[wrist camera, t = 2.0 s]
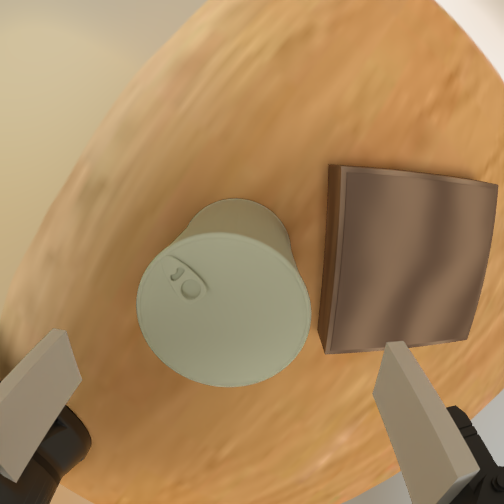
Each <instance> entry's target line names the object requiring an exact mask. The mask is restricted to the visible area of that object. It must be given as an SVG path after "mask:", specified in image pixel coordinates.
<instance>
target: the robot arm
mask: <svg viewBox="0 0 504 504" xmlns="http://www.w3.org/2000/svg"><path fill="white" fill-rule="evenodd" d="M81 381H82V378H81V375H80V372H79V369H78V366H77V363H76V360H75V357H74V354H73V351H72V348H71V345H70V342H69V338H68V335H67V332H66V330H60V329H54V328H53V329H52V330H51V331H50V332H49V333H48V334H47V335H46V336H45V337H44V338H43V339H42V340H41V341H40V342H39V343H38V344H37V345H36V346H35V347H34V348H33V349H32V350H31V351H30V352H29V353H28V354H27V355H26V356H25V357H24V358H23V359H22V360H21V361H20V362H19V363H18V364H17V365H16V367H15V368H14V369H13V370H12V371H11V372H10V373H9V374H8V375H7V376H6V377H5V378H4V379H3V380H2V381H0V504H50V502H51V499H52V497H53V495H54V493H55V491H56V488H57V487H58V485H59V483H60V480H61V479H62V477H63V476H64V475H65V474H67V473H68V472H69V471H70V470H71V469H72V468H73V467H74V466H75V465H77V464H78V463H79V462H80V461H82V460H83V459H84V458H85V457H86V455H87V453H88V451H89V449H90V447H91V439H90V436H89V434H88V432H87V430H86V428H85V427H84V425H83V424H82V423H81V421H80V420H79V419H78V418H77V417H76V416H75V415H74V414H73V413H72V412H71V411H70V410H69V409H68V408H67V407H66V406H65V405H66V403H67V402H68V400H69V399H70V397H71V396H72V394H73V393H74V391H75V390H76V388H77V387H78V385H79V384H80V383H81ZM373 397H374V399H375V402H376V404H377V407H378V409H379V412H380V414H381V417H382V420H383V422H384V425H385V428H386V430H387V433H388V436H389V438H390V441H391V444H392V446H393V449H394V452H395V455H396V457H397V460H398V463H399V466H400V469H401V471H402V474H403V477H404V480H405V483H406V486H407V489H408V492H409V495H410V498H411V501H412V504H504V467H501V466H497V464H496V463H495V462H494V460H493V458H492V456H491V454H490V453H489V451H488V449H487V448H486V446H485V444H484V442H483V441H482V439H481V437H480V436H479V435H477V431H476V429H475V428H474V426H472V423H471V421H470V419H469V418H468V416H467V415H466V413H464V412H463V411H462V410H461V409H459V408H458V407H457V406H456V405H455V406H451V407H447V408H446V407H445V405H444V404H443V402H442V400H441V399H440V397H439V396H438V394H437V392H436V391H435V389H434V387H433V386H432V384H431V383H430V381H429V379H428V378H427V376H426V375H425V373H424V371H423V370H422V368H421V367H420V365H419V364H418V362H417V361H416V359H415V358H414V356H413V354H412V353H411V351H410V350H409V348H408V347H407V345H406V344H405V342H404V341H396V342H386V346H385V350H384V354H383V358H382V362H381V366H380V370H379V373H378V377H377V380H376V384H375V387H374V390H373Z"/></svg>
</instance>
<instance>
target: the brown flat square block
mask: <svg viewBox="0 0 504 504" xmlns="http://www.w3.org/2000/svg"><path fill="white" fill-rule="evenodd" d="M497 195H498V185H496V184H492V183H487V182H482V181H477V180H471V179H465V178H459V177H452V176H445V175H438V174H430V173H422V172H413V171H404V170H394V169H384V168H373V167H360V166H346V165H329V175H328V202H327V222H326V239H325V254H324V267H323V279H322V290H321V301H320V311H319V321H318V333H319V337H320V340H321V343H322V346H323V349H324V353H325V354H340V353H357V352H370V351H382V350H385V346H386V342H396V341H404V342H405V344H406V345H407V347H408V348H411V347H420V346H428V345H435V344H442V343H449V342H456V341H462V340H467V338H468V335H469V332H470V329H471V325H472V322H473V319H474V315H475V312H476V309H477V305H478V301H479V297H480V294H481V290H482V286H483V281H484V277H485V273H486V268H487V263H488V258H489V253H490V247H491V241H492V235H493V229H494V222H495V214H496V205H497Z"/></svg>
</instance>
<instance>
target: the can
mask: <svg viewBox="0 0 504 504" xmlns="http://www.w3.org/2000/svg"><path fill="white" fill-rule="evenodd" d="M136 310H137V317H138V322H139V326H140V329H141V331H142V334H143V336H144V338H145V340H146V342H147V343H148V345H149V347H150V348H151V349H152V351H153V352H154V353H155V354H156V356H157V357H158V358H159V359H160V360H161V361H162V362H163V363H165V364H166V365H167V366H168V367H170V368H171V369H172V370H174V371H175V372H177V373H178V374H180V375H182V376H184V377H186V378H188V379H190V380H193V381H196V382H199V383H202V384H206V385H211V386H217V387H239V386H247V385H251V384H255V383H258V382H261V381H264V380H266V379H268V378H270V377H272V376H274V375H275V374H277V373H279V372H280V371H282V370H283V369H284V368H285V367H287V366H288V365H289V364H290V363H291V362H292V361H293V360H294V359H295V357H296V356H297V355H298V353H299V352H300V351H301V349H302V347H303V345H304V343H305V341H306V339H307V336H308V333H309V329H310V323H311V303H310V298H309V294H308V291H307V288H306V286H305V283H304V281H303V279H302V278H301V276H300V274H299V272H298V269H297V266H296V263H295V261H294V258H293V255H292V252H291V244H290V240H289V236H288V233H287V231H286V229H285V227H284V225H283V224H282V222H281V221H280V220H279V218H278V217H277V216H276V215H275V214H274V213H273V212H272V211H270V210H269V209H268V208H266V207H264V206H263V205H261V204H259V203H256V202H254V201H250V200H246V199H237V198H235V199H225V200H220V201H217V202H215V203H212V204H210V205H208V206H206V207H205V208H203V209H202V210H201V211H199V212H198V213H197V214H196V215H195V216H194V218H193V219H192V220H191V221H190V223H189V225H188V226H187V228H186V229H185V230H184V231H183V232H182V233H181V234H180V235H179V236H178V237H177V238H176V239H175V240H174V241H173V242H172V243H171V244H170V245H169V246H168V247H166V248H165V249H164V250H163V251H161V252H160V253H159V254H158V255H157V256H156V257H155V258H154V259H153V260H152V262H151V263H150V264H149V266H148V267H147V269H146V270H145V272H144V274H143V276H142V278H141V281H140V284H139V287H138V292H137V300H136Z"/></svg>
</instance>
